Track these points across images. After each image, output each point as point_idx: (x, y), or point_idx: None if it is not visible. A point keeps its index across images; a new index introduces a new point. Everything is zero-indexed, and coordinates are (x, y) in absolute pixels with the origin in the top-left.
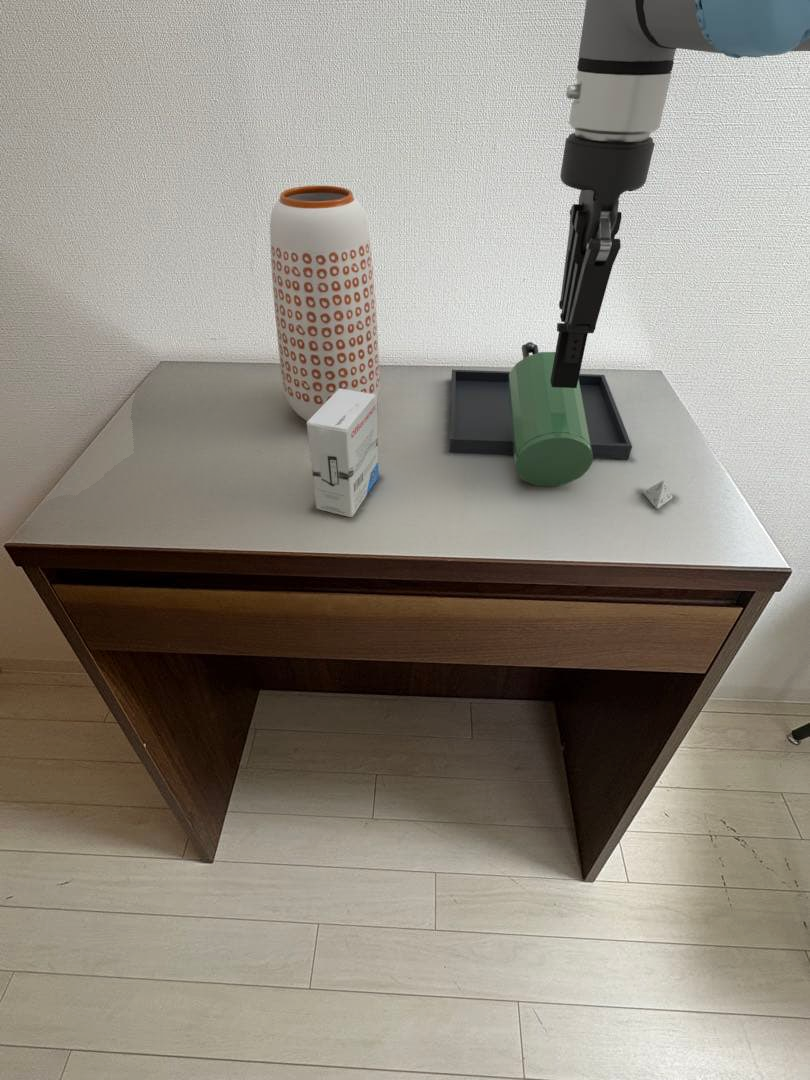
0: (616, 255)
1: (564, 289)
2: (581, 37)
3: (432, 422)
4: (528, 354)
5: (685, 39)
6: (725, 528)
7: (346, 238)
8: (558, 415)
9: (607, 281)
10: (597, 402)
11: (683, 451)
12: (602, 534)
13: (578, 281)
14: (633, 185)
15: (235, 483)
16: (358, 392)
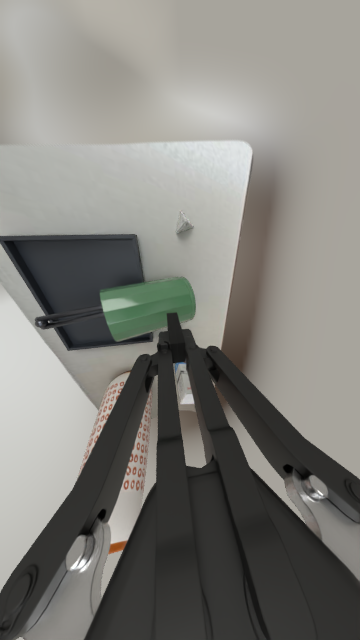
0: (340, 466)
1: (149, 391)
2: None
3: (126, 346)
4: (56, 323)
5: None
6: (212, 173)
7: (127, 503)
8: (178, 311)
9: (272, 406)
10: (53, 248)
11: (109, 172)
12: (214, 267)
13: (239, 419)
14: None
15: None
16: (185, 398)
